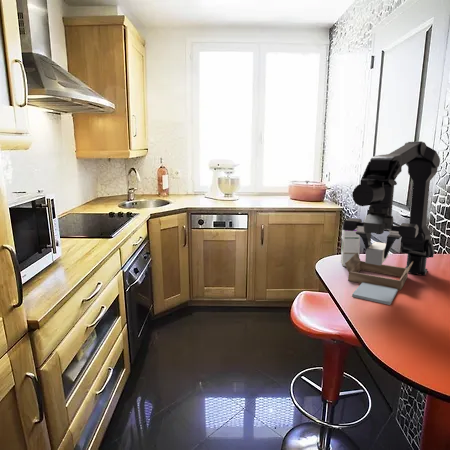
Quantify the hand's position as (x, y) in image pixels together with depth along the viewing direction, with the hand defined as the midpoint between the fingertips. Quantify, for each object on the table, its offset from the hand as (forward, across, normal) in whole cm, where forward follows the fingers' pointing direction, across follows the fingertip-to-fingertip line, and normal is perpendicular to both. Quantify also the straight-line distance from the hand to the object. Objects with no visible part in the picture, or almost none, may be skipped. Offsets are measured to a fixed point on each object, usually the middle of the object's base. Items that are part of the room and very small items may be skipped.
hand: (376, 256), depth 97 cm
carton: (+11, -2, +13) cm, 17 cm away
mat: (+11, 0, 0) cm, 11 cm away
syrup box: (+11, -14, +23) cm, 29 cm away
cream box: (+1, 0, +1) cm, 2 cm away
